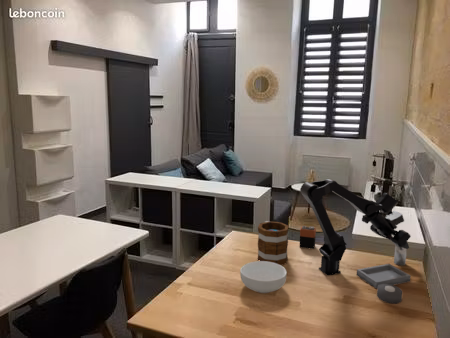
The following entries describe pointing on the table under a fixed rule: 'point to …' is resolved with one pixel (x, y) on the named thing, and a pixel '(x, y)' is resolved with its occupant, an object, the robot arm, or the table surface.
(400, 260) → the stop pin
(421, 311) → the table surface
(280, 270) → the cereal bowl
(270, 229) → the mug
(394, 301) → the trolley wheel
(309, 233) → the battery
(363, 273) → the tray
